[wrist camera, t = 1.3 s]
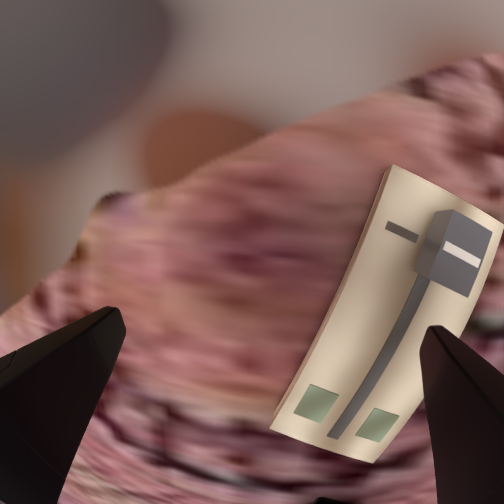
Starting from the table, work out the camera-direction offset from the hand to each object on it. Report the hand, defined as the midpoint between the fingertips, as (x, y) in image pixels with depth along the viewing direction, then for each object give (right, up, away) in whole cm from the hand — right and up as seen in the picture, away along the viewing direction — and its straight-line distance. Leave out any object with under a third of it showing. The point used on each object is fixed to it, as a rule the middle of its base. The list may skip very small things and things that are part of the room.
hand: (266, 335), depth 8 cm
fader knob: (+12, +2, +10) cm, 15 cm away
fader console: (+10, -4, +14) cm, 18 cm away
